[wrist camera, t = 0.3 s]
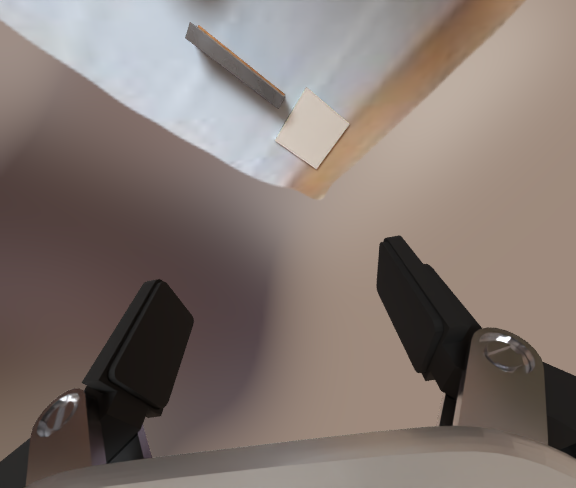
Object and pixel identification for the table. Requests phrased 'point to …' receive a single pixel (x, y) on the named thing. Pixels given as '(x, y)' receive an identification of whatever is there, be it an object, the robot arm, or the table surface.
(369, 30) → the table surface
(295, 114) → the pad
